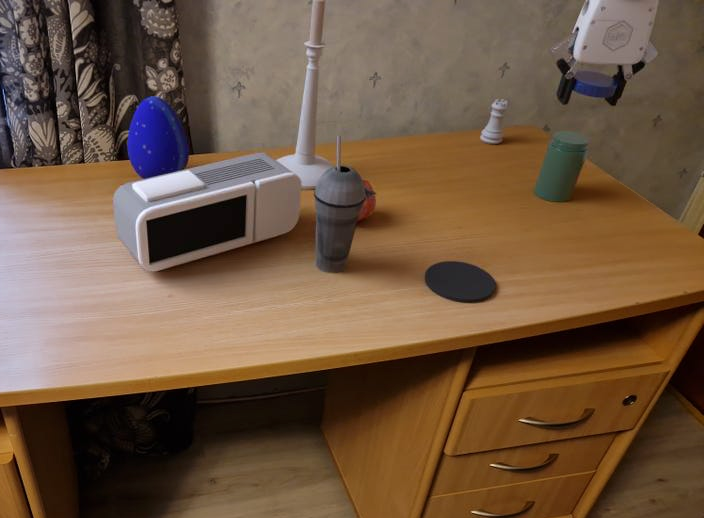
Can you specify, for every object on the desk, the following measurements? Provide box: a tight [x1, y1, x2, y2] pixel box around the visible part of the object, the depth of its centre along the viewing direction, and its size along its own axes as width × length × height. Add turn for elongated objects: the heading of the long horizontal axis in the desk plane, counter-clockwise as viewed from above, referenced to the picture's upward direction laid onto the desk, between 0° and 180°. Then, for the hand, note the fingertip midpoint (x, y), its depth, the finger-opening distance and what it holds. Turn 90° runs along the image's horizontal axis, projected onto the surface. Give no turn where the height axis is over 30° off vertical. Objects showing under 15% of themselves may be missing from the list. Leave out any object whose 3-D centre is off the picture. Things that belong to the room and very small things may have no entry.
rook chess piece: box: [479, 98, 509, 145], centre depth 136 cm, size 4×4×8 cm
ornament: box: [126, 95, 190, 180], centre depth 119 cm, size 11×9×15 cm
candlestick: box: [275, 0, 336, 191], centre depth 117 cm, size 13×13×30 cm
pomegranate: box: [357, 179, 378, 222], centre depth 112 cm, size 7×7×10 cm
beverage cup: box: [313, 133, 366, 274], centre depth 96 cm, size 7×7×20 cm
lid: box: [572, 70, 618, 99], centre depth 108 cm, size 7×7×2 cm
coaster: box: [424, 260, 497, 304], centre depth 99 cm, size 10×10×1 cm
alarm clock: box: [112, 151, 302, 272], centre depth 103 cm, size 27×9×12 cm, turn 119°
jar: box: [532, 130, 591, 203], centre depth 118 cm, size 6×6×10 cm
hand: (586, 101), depth 110 cm, fingers closed on lid, 6 cm apart
